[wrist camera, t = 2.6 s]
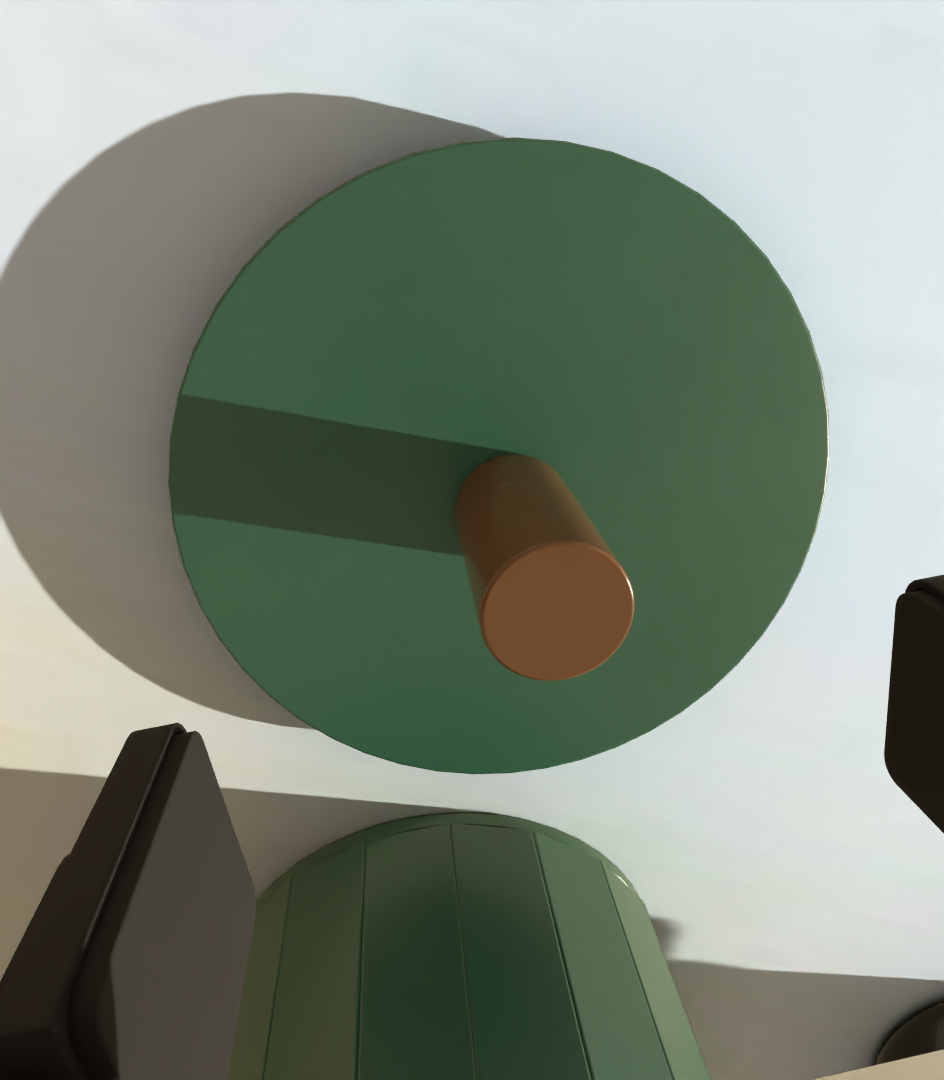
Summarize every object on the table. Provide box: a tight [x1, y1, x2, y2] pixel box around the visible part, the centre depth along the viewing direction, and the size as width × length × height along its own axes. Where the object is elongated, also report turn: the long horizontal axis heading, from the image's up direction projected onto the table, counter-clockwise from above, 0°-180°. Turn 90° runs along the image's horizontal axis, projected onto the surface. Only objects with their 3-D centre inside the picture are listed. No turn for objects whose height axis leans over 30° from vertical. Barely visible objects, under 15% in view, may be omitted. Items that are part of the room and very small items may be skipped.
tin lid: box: [168, 138, 829, 774], centre depth 15 cm, size 15×15×6 cm
